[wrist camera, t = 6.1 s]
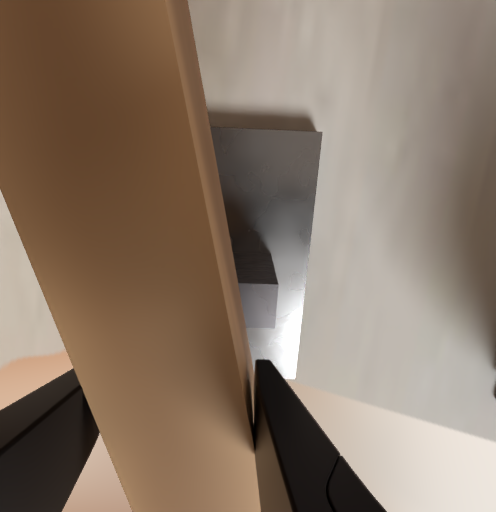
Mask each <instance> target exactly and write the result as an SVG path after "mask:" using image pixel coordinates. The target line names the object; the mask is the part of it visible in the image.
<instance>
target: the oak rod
mask: <svg viewBox="0 0 496 512" xmlns="http://www.w3.org/2000/svg"><path fill="white" fill-rule="evenodd" d="M0 189H1V192H2V194H3V197H4V199H5V202H6V204H7V207H8V209H9V211H10V214H11V216H12V219H13V221H14V224H15V226H16V228H17V231H18V233H19V236H20V238H21V241H22V243H23V246H24V248H25V250H26V253H27V255H28V258H29V260H30V263H31V265H32V268H33V270H34V272H35V275H36V277H37V280H38V282H39V285H40V287H41V290H42V292H43V294H44V297H45V299H46V302H47V304H48V307H49V309H50V311H51V314H52V316H53V319H54V321H55V324H56V326H57V329H58V331H59V333H60V336H61V338H62V341H63V343H64V346H65V348H66V351H67V353H68V355H69V358H70V360H71V363H72V365H73V368H74V370H75V373H76V375H77V377H78V380H79V382H80V385H81V387H82V388H83V392H84V394H85V397H86V399H87V402H88V404H89V407H90V409H91V412H92V414H93V416H94V419H95V421H96V424H97V426H98V429H99V431H100V434H101V436H102V438H103V441H104V443H105V446H106V448H107V450H108V453H109V455H110V458H111V460H112V463H113V465H114V468H115V470H116V473H117V475H118V478H119V480H120V482H121V485H122V487H123V490H124V492H125V494H126V497H127V499H128V502H129V504H130V507H131V509H132V512H261V507H260V498H259V489H258V480H257V472H256V463H255V448H254V369H253V363H252V358H251V352H250V347H249V341H248V336H247V330H246V324H245V319H244V313H243V308H242V302H241V297H240V291H239V285H238V280H237V274H236V269H235V263H234V258H233V252H232V246H231V241H230V235H229V230H228V224H227V219H226V213H225V207H224V202H223V196H222V191H221V185H220V180H219V174H218V168H217V163H216V157H215V152H214V146H213V141H212V135H211V129H210V124H209V118H208V113H207V107H206V102H205V96H204V90H203V85H202V79H201V74H200V68H199V63H198V57H197V51H196V46H195V40H194V35H193V29H192V24H191V18H190V12H189V7H188V1H187V0H0Z"/></svg>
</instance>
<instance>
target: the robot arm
mask: <svg viewBox="0 0 496 512" xmlns="http://www.w3.org/2000/svg"><path fill="white" fill-rule="evenodd" d="M99 433H100V431H99V429H98V426H97V424H96V421H95V419H94V416H93V414H92V412H91V409H90V407H89V404H88V402H87V399H86V397H85V394H84V392H83V388H82V387H81V385H80V382H79V380H78V377H77V375H76V373H75V370H74V368H73V369H71V370H70V371H68V372H66V373H65V374H63V375H61V376H59V377H58V378H56V379H54V380H52V381H51V382H49V383H47V384H45V385H44V386H42V387H40V388H38V389H37V390H35V391H33V392H32V393H30V394H28V395H26V396H25V397H23V398H21V399H19V400H18V401H16V402H14V403H12V404H11V405H9V406H7V407H5V408H4V409H2V410H0V512H62V510H63V508H64V506H65V504H66V502H67V500H68V498H69V496H70V494H71V492H72V490H73V488H74V486H75V484H76V482H77V480H78V478H79V476H80V474H81V472H82V470H83V468H84V466H85V464H86V462H87V459H88V458H89V456H90V454H91V451H92V449H93V447H94V445H95V443H96V440H97V438H98V436H99ZM254 448H255V463H256V472H257V480H258V489H259V498H260V507H261V512H387V511H386V510H385V509H384V508H383V507H382V505H381V504H380V503H379V502H378V501H377V500H376V499H375V497H374V496H373V495H372V494H371V493H370V491H369V490H368V489H367V488H366V486H365V485H364V484H363V482H362V481H361V480H360V479H359V477H358V476H357V475H356V474H355V472H354V471H353V470H352V469H351V467H350V466H349V464H348V463H347V462H346V460H345V459H344V458H343V456H340V453H339V451H338V450H337V448H336V447H335V446H334V444H332V442H331V441H330V439H329V438H328V437H327V435H326V434H325V432H324V431H323V430H322V428H321V427H320V426H319V424H318V423H317V422H316V420H315V419H314V418H313V416H312V415H311V414H310V413H309V411H308V410H307V408H306V407H305V406H304V404H303V403H302V402H301V400H300V399H299V398H298V396H297V395H296V394H295V392H294V391H293V390H292V388H291V387H290V386H289V385H288V383H287V382H286V380H285V379H284V378H283V376H282V375H281V374H280V372H279V371H278V370H277V368H276V367H275V366H274V364H273V363H272V362H271V360H269V359H257V360H256V361H255V373H254Z"/></svg>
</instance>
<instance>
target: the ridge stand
mask: <svg viewBox="0 0 496 512" xmlns="http://www.w3.org/2000/svg"><path fill="white" fill-rule="evenodd" d="M210 129H211V135H212V141H213V146H214V152H215V157H216V163H217V168H218V174H219V180H220V185H221V191H222V196H223V202H224V207H225V213H226V219H227V224H228V230H229V235H230V241H231V246H232V252H233V258H234V263H235V269H236V274H237V280H238V285H239V291H240V297H241V302H242V308H243V313H244V319H245V324H246V330H247V336H248V341H249V347H250V352H251V358H252V363H253V369H254V373H255V361H256V360H257V359H269V360H271V362H272V363H273V364H274V366H275V367H276V368H277V370H278V371H279V372H280V374H281V375H282V376H283V378H284V379H295V376H296V367H297V358H298V349H299V340H300V331H301V322H302V313H303V304H304V295H305V286H306V277H307V268H308V259H309V250H310V241H311V232H312V223H313V213H314V204H315V195H316V186H317V177H318V168H319V159H320V150H321V141H322V132H313V131H290V130H267V129H243V128H220V127H210Z"/></svg>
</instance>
